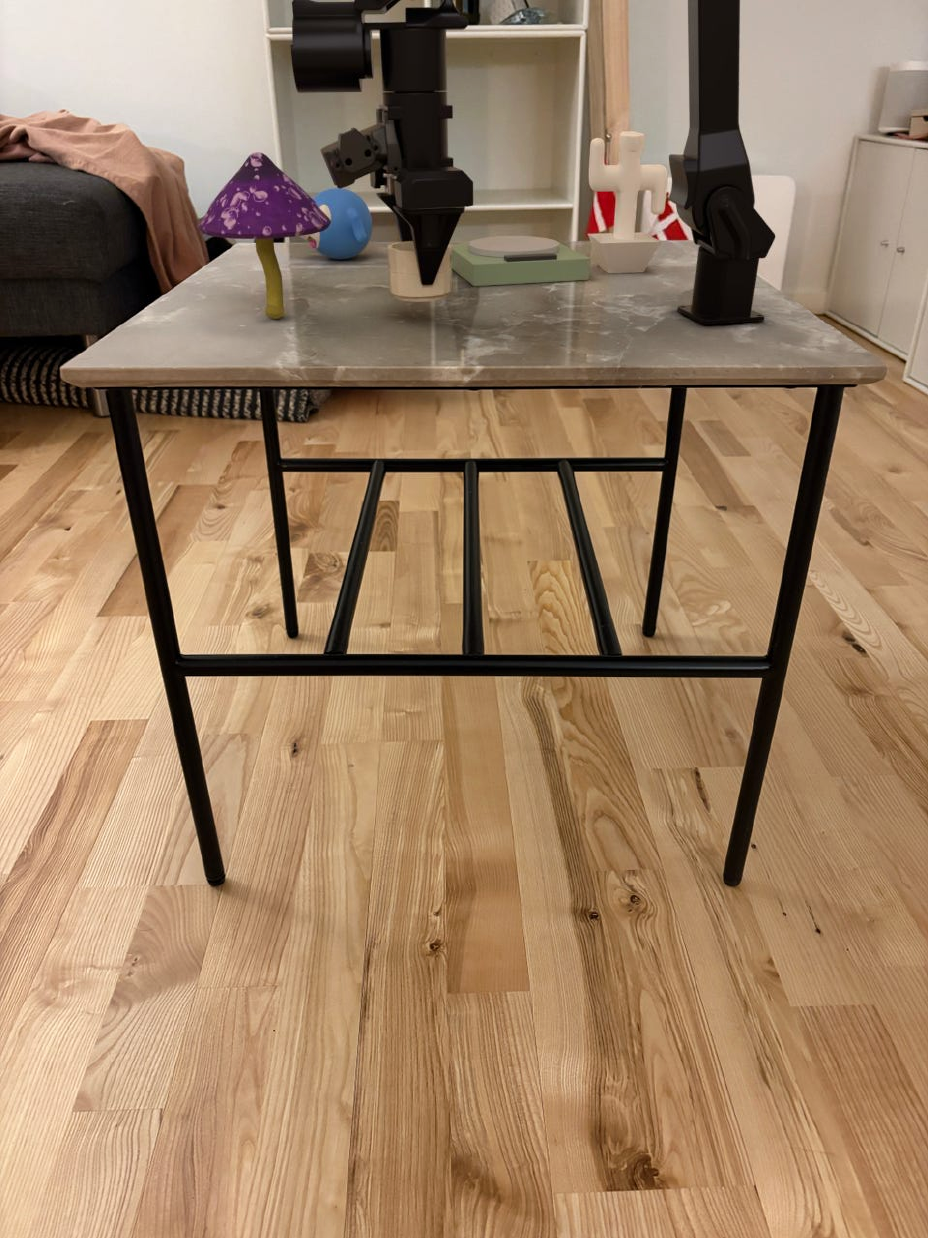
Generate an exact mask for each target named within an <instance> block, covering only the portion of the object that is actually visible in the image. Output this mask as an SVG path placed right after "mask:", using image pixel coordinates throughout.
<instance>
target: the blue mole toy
mask: <svg viewBox="0 0 928 1238" xmlns="http://www.w3.org/2000/svg"><path fill="white" fill-rule="evenodd" d="M312 199H313V200H314V201H315V202H316V204H317V205H318V206H319V208H320V209H321V210H322V211H323V212H324V213H325V215H326V216H327V217H328V218H329V219H330V220H331V223H330V225H329V227H328V228H327V229H325V230H324V231H321V232H318V233H314V234H309V235H303V236H298V237H299V238H301V239H302V240H303V241H308V243H309V247H311V248H312V249H314V250H316V252H318V253H319V254H321V255H322V256H323V257H326V258H329V259H332V260H348V259H351V258H354V257H356V256H358V255H359V254H361V253H362V252H363V251H364V250H365V249H366V247H367V246H368V244H369V243H370V240H371V237H372V233H373V219H372V214H371V211H370V209H369V207H368V205H367V203H366V201H364V199H363V198H362V197H361V196H360V195H359V194H357V193H356V192H354V191H352V190H350V189H347V188H340V189H339V188H337V187H335V188H328V189H324V190H322V191H320V192H318V193H317V194H315V196H313V198H312Z"/></svg>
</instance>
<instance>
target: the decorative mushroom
mask: <svg viewBox="0 0 928 1238" xmlns="http://www.w3.org/2000/svg"><path fill="white" fill-rule="evenodd" d="M330 223H331V220H330V219H329V218H328V217H327V216H326V215H325V213H324V212H323V211H322V210H321V209H320V208H319V206H318V205H317V204H316V202H315V201H314V200H313V198H312V197H311V196H310V195H309V194H308V193H307V192H306V191H305V190H304V189H303V188H302V187H301V186H300V185H299V184H298V183H296V182H295V181H294V180H293V179H292V178H291V177H289V176H288V175H287V174H286V173H285V172H284V171H282V169H280V168H279V167H278V166H277V165H276V164H275V163H274V162H273V160H271V158H270V157H269V156H268V155H267V154H264V153H263V152H260V151H255V152H252V153H251V154H249V156H248V157H247V158H246V159H245V160H244V162H243V163H242V165H241V166H240V167H239V169H238V170H237V171H236V172H235V174H234V175H233V176H232V177H231V178H230V179H229V181H228V182H227V183H225V185H223V188H222V189H221V190H220V191H219V193H218V194H217V196H216V197H214V199H213V201H212V202H211V203H210V204H209V206H208V209H207V211H206V212H205V214H204V216H203V217H202V219H201V220H200V222H199V223H198V227H197V228H198V229H199V230H200V232H201V233H203V234H205V235H206V236H209V237H214V238H215V237H216V238H222V239H232V240H233V239H235V240H254V241H255V251H256V254H257V256H258V258H259V261H260V264H261V267H262V270H263V274H264V278H265V294H266V305H265V308H264V313H265V315H266V316H267V317H268V318H269V319H274V320H277V319H280V318H283V316H284V315H285V313H286V311H285V305H284V286H283V284H284V283H283V275H282V271H281V268H280V264H279V261H278V258H277V254H276V251H275V242H274V239H285V238H294V237H295V238H297V237H299V236H303V235H309V234H314V233H318V232H321V231H324V230H325V229H327V228H328V227H329V225H330Z"/></svg>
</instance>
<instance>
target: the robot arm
mask: <svg viewBox="0 0 928 1238" xmlns="http://www.w3.org/2000/svg"><path fill="white" fill-rule="evenodd" d="M401 1H402V0H354V1H315V0H292V1H291V9H292V10H291V11H292V21H291V23H292V24H291V34H292V35H291V36H292V37H291V38H292V39H291V40H292V43H290V45H289V46H290V58H291V59H290V60H291V68H292V73H293V74H292V75H293V80H294V84H295V88H296V92H297V93H298V94H303V93H304V94H305V93H307V94H309V93H311V94H313V93H317V94H318V93H362V92H363V80H366V79H368V80H370V79H371V80H374V79H375V62H374V61H375V60H374V44H373V32H378V34H379V52H380V53H379V54H380V55H379V56H380V75H381V96H382V97H381V98H382V99H381V100H382V104H378V108H376V109H375V117H376V118H375V119H376V124H373V125H371V126H369V127H366V128H363V129H361V130H358V129H357V128H356V127H351V128H350V130H348V131H345V132H343V133H342V132H340V133H338V135H337V140H336V141H334V142H332V143H329V144H328V145H325V146H323V147H322V148H320V149H319V150H320V153H321V156H322V159H323V161H324V163H325V165H326V168H327V170H328V173H329V175H330V178H331V180H332V182H333V185H334V186H336V188H339V189H340V188H341V189H345V188H346V187H349V186H351V185H354V184H355V182H356V180H358V179H361V178H363V177H365V176H367V175H369V182H370V187H371V188H373V189H375V190H378V189H381V187H382V186H383V187H384V191H383V192H376V194H375V195H376V197H377V198H378V199H379V200H380V201H381V202H382V203H383V204H384V205H385V206H387V208H388V209H390V210H391V212H392V214H393V215H394V219H395V222H396V223H395V224H396V226H397V230H398V234H399V238H400V242H404V241H413V244H414V250H415V255H416V260H417V266H418V271H419V276H420V280H421V284H422V285H432V284H433V283H434V281H435V278H436V276H437V273H438V270H439V268H440V265H441V263H442V260H443V258H444V255H445V252H446V250H447V248H448V245H449V244H450V243H451V240H452V238H453V235H454V233H455V231H456V228H457V226H458V223H459V222H460V220H461V219H460V218H461V216H462V214H464V213H465V209H466V208H467V207H472V206H474V181H473V180H472V179H471V178H470V177H469V176H468V174H466V172H465V171H464V170H462V169H460V168H458V167H455V166H454V157H452V156H449V129H448V128H449V127H448V126H449V124H448V123H449V121H448V119H449V120H450V119H451V120H453V119H454V111H453V110H454V107H453V105H452V104H448V67H447V66H448V65H447V64H448V63H447V62H448V61H447V60H448V57H447V55H448V54H447V52H448V51H447V31H464V30H465V29H467V28H468V26H469V20H468V19H467V18H466V17H465V16H464V15H463V14H462V13H461V12H460V11H459V10H458V8H457V7H456V5H455V3H454V1H453V0H443V1H442V3H441V4H440V5H439V6H421V7H420V6H418V7H417V6H415V7H414V6H413V7H411V6H410V7H405V9H404V11H405V12H404V13H405V15H404V18H405V19H404V21H392V22H391V21H389V22H388V21H386V22H381V21H380V22H366V16H367V15H368V16H369V15H385V14H386V13H388V12H389V11H390V10H391V9H392V8H394V7H395V6H396V5H397V4H399V2H401ZM411 1H412V2H413V1H414V0H411ZM740 26H741V0H687V31H688V32H687V37H688V38H687V40H688V41H687V43H688V48H687V49H688V51H687V52H688V114H689V117H688V118H689V119H688V120H689V125H688V126H689V128H688V135H687V138H686V141H685V145H684V149H683V153H682V154H674V153H673V154H672V153H670V154H669V155H668V164H669V171H670V175H671V188H670V193H669V195H668V201H669V202H671V203H673V204H674V205H675V208H676V213H677V215H678V217H679V218H680V220H681V221H682V222H683V223H684V224H685V225H686V226H687V227H688V228H690V231H691V235H692V239H693V240H692V241H693V244H695V245H696V246H698V249H697V257H696V266H695V272H694V273H695V274H694V280H693V281H694V283H693V290H692V300H691V304H687V305H686V304H685V305H678V306H677V312H679V313H680V314H683V316H686V317H688V318H690V319H691V320H694V321H696V322H697V323H699V324H702V325H706V326H709V325H711V326H712V325H725V324H739V323H741V324H742V323H752V322H753V323H754V322H764V321H765V317H766V315H764V314H762V313H760V312H759V311H758V312H757V311H755V310H753V303H754V296H755V290H756V289H755V288H756V282H757V276H758V270H759V263H760V259H765V258H767V256H768V254H769V252H770V250H771V248H772V246H773V243H774V242H775V239H776V233H774V231H773V230H772V228H771V227H770V226H769V225H768V224H767V223H766V221H765V220H764V218H763V217H762V216H761V215H760V214H759V212H758V211H757V209H756V208H755V203H756V198H755V197H756V196H755V190H754V185H753V184H754V183H753V177H752V176H753V175H752V169H751V164H750V159H749V157H748V156H749V155H748V152H747V150H746V146H745V142H744V139H743V135H742V133H741V127H740V120H739V119H740V49H741V48H740V45H741V44H740V43H741V41H740V40H741V39H740V35H741V31H740V30H741V28H740Z"/></svg>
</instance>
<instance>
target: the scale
mask: <svg viewBox="0 0 928 1238" xmlns="http://www.w3.org/2000/svg"><path fill="white" fill-rule="evenodd" d="M449 244H450V243H449ZM450 245H451V246H452V271H454V272H455V273H457V275H459V276H460V277H462V278H463V279H464V280H465V281H467V282H468V283H469V284H470V285H472V287H488V286H504V285H525V284H541V283H543V284H544V283H559V282H573V281H576V282H577V281H589V280H590V270H591V257H589V256H586V255H584V254H582V253H581V252H578V251H576V250H574V249H572V248H570V247H568V246H566V245H564V244H562V243H560V242H559V241H557V240H555V239H552V238H547V237H541V236H529V235H499V236H497V235H496V236H488V237H480V238H475V239H473V240H470V241H469V243H453V244H452V243H451V244H450Z"/></svg>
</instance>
